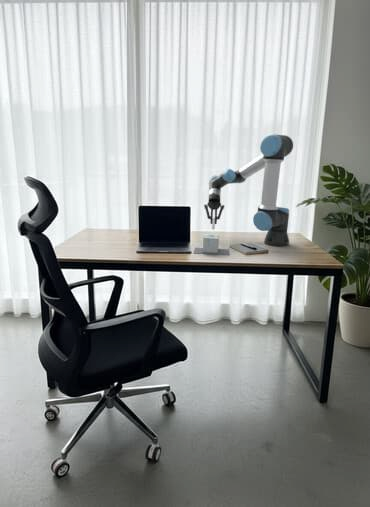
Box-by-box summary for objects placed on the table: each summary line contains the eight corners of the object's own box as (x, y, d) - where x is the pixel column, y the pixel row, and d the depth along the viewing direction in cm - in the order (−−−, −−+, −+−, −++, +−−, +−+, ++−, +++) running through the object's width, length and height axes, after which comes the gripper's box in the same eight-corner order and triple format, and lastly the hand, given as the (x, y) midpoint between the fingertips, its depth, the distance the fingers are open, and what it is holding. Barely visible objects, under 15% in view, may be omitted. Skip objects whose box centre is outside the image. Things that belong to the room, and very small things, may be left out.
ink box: (218, 248, 216) (217, 253, 205) (204, 247, 217) (202, 252, 206) (219, 233, 214) (218, 238, 202) (204, 233, 214) (202, 238, 203)
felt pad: (229, 249, 215) (229, 249, 215) (229, 255, 203) (229, 254, 203) (195, 248, 217) (195, 247, 217) (193, 253, 205) (193, 252, 205)
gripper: (224, 201, 239) (223, 231, 227) (204, 200, 240) (202, 230, 228) (225, 193, 232) (224, 224, 221) (204, 193, 233) (202, 224, 222)
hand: (213, 227), depth 224 cm, fingers closed
